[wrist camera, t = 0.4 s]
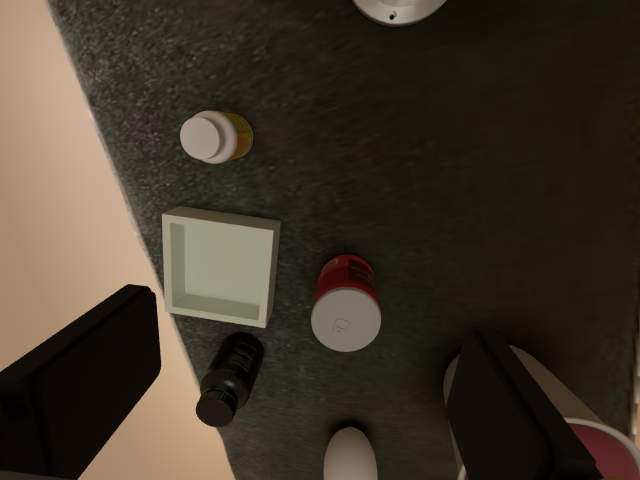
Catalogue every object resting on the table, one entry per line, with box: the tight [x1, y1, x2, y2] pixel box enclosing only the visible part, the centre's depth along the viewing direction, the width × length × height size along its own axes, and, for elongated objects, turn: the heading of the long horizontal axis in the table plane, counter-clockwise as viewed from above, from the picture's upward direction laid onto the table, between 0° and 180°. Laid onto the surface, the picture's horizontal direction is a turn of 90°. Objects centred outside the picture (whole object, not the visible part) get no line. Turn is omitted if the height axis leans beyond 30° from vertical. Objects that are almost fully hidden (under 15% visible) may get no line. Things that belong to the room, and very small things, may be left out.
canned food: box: [311, 254, 381, 352], centre depth 41 cm, size 8×8×11 cm
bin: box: [162, 206, 281, 328], centre depth 44 cm, size 14×14×4 cm
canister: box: [443, 345, 640, 480], centre depth 39 cm, size 18×18×21 cm
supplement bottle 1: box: [180, 111, 253, 163], centre depth 36 cm, size 5×5×10 cm
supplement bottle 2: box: [196, 334, 264, 427], centre depth 46 cm, size 7×7×12 cm
